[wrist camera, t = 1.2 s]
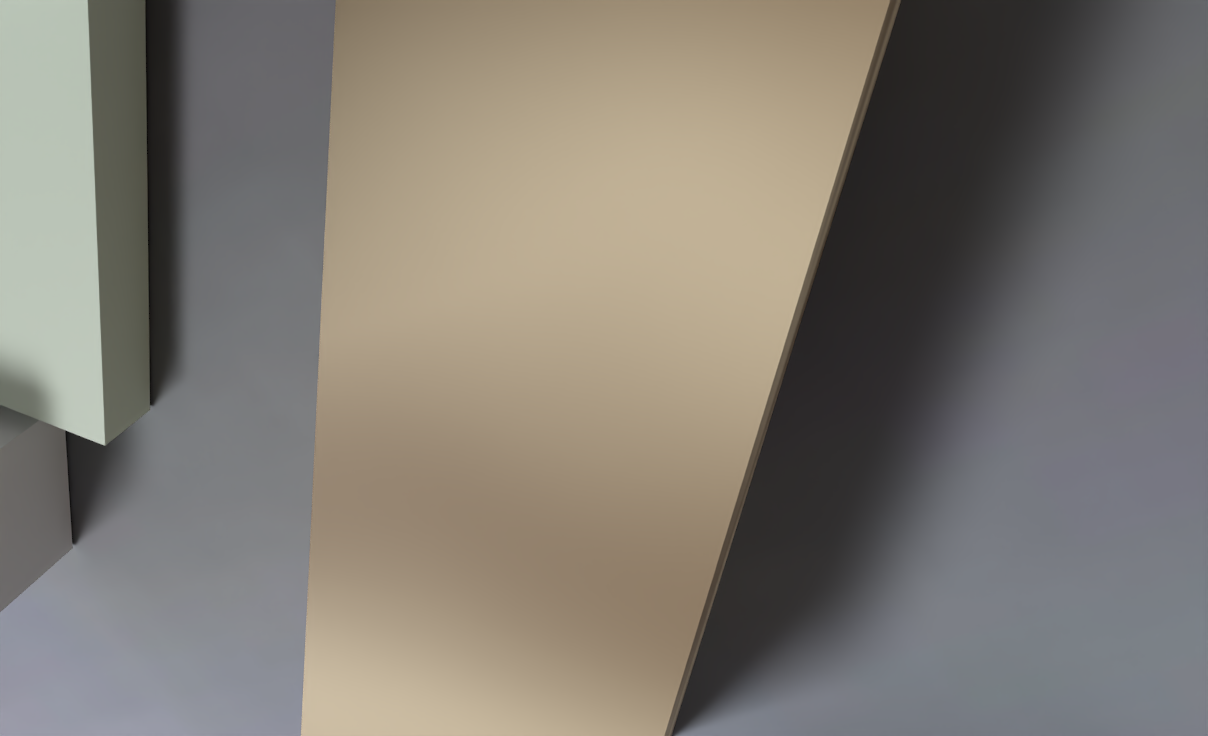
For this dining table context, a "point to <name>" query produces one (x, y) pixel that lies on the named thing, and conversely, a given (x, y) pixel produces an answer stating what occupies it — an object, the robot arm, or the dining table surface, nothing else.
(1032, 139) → the dining table surface
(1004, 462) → the dining table surface
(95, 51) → the bracket board
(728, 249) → the batten
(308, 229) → the dining table surface
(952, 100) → the dining table surface
